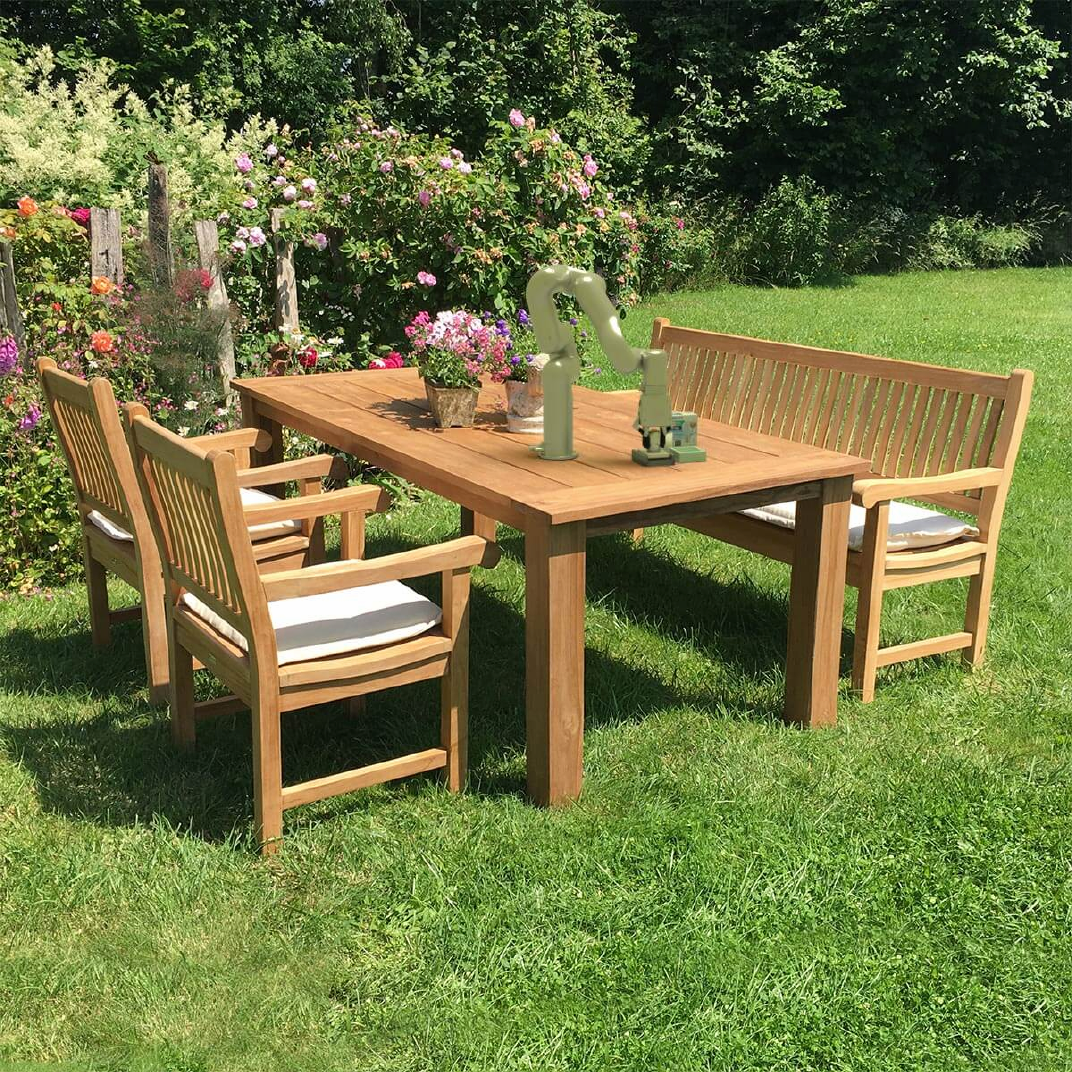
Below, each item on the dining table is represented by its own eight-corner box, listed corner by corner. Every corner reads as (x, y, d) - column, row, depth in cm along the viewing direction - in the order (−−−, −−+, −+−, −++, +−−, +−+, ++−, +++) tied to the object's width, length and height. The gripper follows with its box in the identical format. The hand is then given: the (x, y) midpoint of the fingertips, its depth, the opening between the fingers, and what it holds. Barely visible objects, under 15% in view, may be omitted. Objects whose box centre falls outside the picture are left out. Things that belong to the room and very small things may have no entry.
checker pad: (648, 458, 370) (648, 455, 370) (637, 451, 380) (637, 448, 379) (669, 456, 372) (669, 453, 372) (657, 450, 381) (657, 447, 381)
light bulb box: (667, 448, 398) (668, 415, 395) (660, 444, 404) (661, 412, 401) (697, 446, 401) (698, 414, 398) (689, 442, 407) (690, 410, 404)
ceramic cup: (654, 456, 384) (655, 434, 382) (647, 452, 391) (647, 430, 389) (675, 455, 386) (675, 433, 384) (667, 451, 393) (667, 429, 391)
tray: (679, 462, 375) (679, 453, 374) (668, 457, 384) (669, 447, 383) (706, 461, 377) (706, 451, 377) (694, 455, 386) (695, 446, 385)
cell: (649, 453, 373) (649, 431, 371) (644, 450, 377) (645, 428, 375) (662, 452, 374) (663, 430, 372) (657, 449, 378) (658, 427, 376)
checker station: (644, 467, 370) (644, 456, 369) (631, 459, 381) (631, 448, 380) (676, 464, 372) (676, 454, 371) (662, 457, 384) (662, 446, 383)
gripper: (632, 393, 365) (632, 452, 370) (684, 390, 369) (683, 448, 374) (624, 389, 372) (624, 447, 377) (675, 386, 376) (674, 443, 381)
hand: (653, 447), depth 375 cm, fingers closed on cell, 4 cm apart
